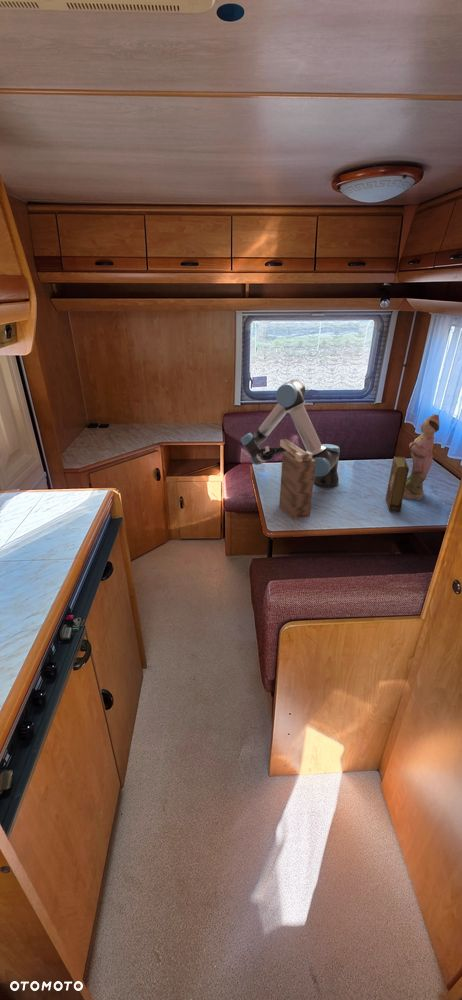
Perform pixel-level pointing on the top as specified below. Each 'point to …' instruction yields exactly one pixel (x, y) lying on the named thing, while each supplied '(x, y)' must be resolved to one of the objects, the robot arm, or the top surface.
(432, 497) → the top surface
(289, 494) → the walnut stand
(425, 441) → the statue
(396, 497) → the book
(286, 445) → the birch bar
